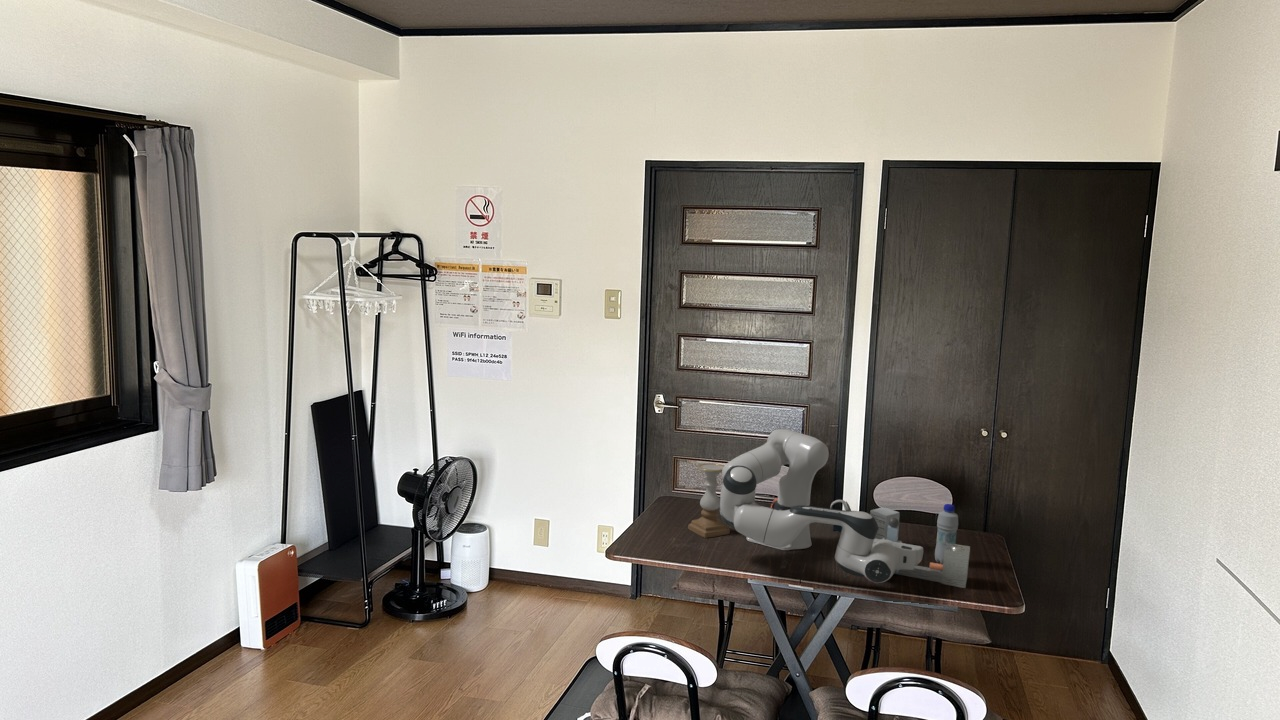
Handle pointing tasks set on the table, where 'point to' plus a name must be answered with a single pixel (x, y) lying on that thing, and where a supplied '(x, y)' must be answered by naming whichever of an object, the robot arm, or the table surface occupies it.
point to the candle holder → (709, 505)
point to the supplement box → (883, 520)
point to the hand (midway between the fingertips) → (892, 541)
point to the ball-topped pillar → (893, 531)
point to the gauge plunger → (936, 566)
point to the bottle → (945, 530)
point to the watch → (847, 508)
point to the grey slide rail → (946, 567)
